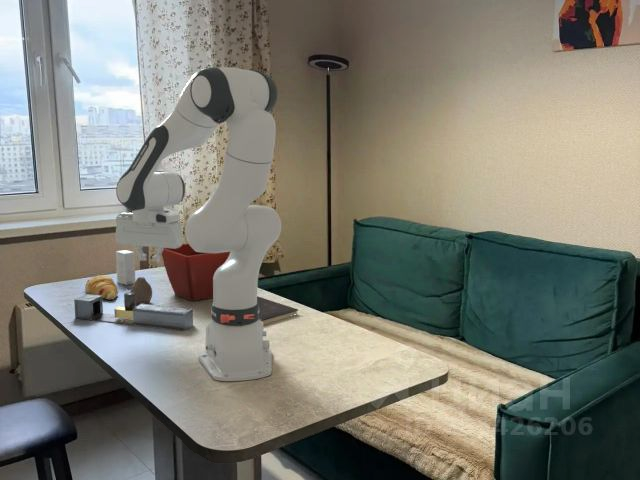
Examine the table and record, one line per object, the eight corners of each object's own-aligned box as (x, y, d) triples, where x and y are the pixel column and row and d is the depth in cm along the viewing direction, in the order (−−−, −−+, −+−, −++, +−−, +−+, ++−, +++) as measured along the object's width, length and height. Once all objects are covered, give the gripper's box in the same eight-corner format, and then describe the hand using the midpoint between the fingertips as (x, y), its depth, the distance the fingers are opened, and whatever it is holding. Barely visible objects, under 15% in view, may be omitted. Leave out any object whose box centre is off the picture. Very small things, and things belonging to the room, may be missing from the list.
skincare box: (136, 283, 217) (134, 251, 215) (126, 285, 214) (124, 253, 211) (126, 280, 220) (125, 249, 218) (116, 282, 217) (115, 251, 215)
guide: (193, 324, 173) (193, 305, 172) (184, 331, 167) (184, 311, 166) (87, 312, 182) (86, 294, 180) (75, 318, 176) (74, 299, 175)
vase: (146, 307, 188) (145, 281, 187) (126, 305, 190) (125, 279, 188) (156, 301, 195) (155, 276, 193) (137, 299, 196) (136, 274, 195)
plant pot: (160, 293, 205) (159, 246, 201) (207, 284, 217) (207, 240, 214) (188, 306, 191) (187, 256, 188) (236, 296, 203) (236, 249, 200)
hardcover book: (251, 300, 200) (251, 294, 200) (298, 316, 185) (298, 309, 185) (213, 310, 189) (213, 303, 188) (260, 327, 174) (260, 320, 173)
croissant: (122, 309, 197) (132, 288, 198) (95, 301, 190) (106, 278, 191) (97, 294, 212) (106, 274, 213) (71, 286, 205) (81, 265, 206)
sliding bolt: (186, 321, 172) (185, 297, 171) (181, 325, 169) (180, 300, 167) (120, 314, 177) (119, 291, 176) (114, 317, 174) (113, 293, 173)
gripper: (109, 213, 166) (111, 260, 169) (174, 217, 162) (175, 266, 164) (122, 210, 172) (124, 256, 175) (185, 214, 168) (186, 261, 170)
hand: (149, 261), depth 169 cm, fingers open, 3 cm apart
